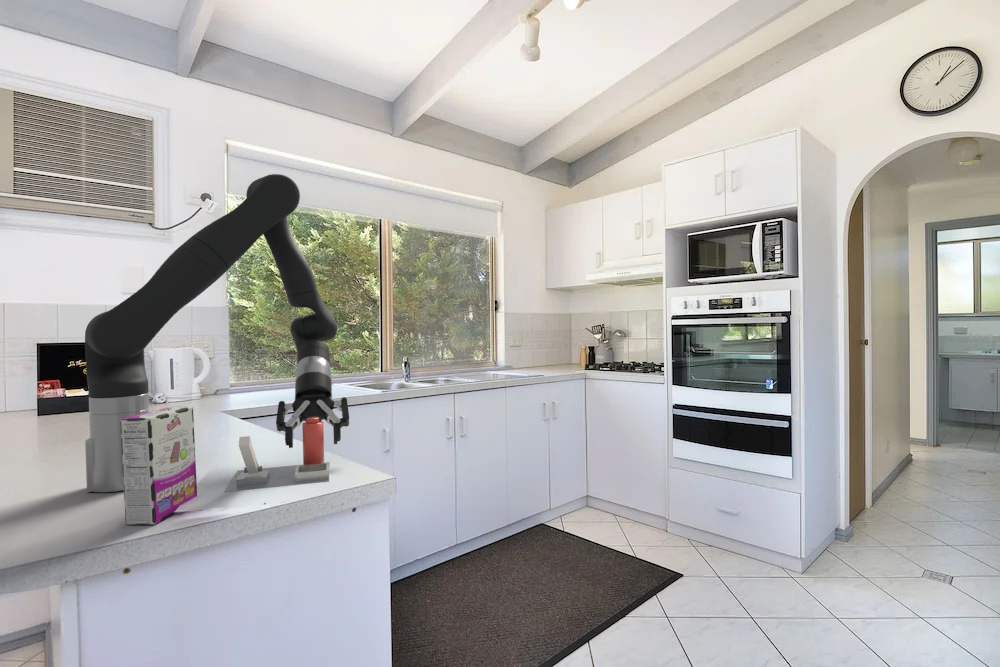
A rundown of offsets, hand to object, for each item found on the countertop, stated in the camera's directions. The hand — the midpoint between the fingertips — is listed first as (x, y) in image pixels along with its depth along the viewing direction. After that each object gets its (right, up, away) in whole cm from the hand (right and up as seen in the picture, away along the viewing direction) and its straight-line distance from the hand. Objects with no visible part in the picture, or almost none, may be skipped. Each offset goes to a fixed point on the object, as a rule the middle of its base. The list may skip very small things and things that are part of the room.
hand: (313, 443), depth 107 cm
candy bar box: (-17, -7, -21) cm, 28 cm away
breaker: (-9, -3, -7) cm, 12 cm away
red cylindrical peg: (0, -5, +1) cm, 5 cm away
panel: (-4, -6, -5) cm, 9 cm away
